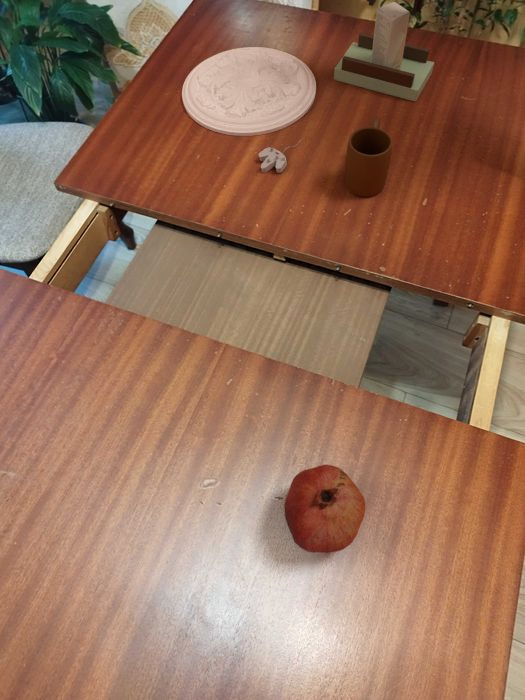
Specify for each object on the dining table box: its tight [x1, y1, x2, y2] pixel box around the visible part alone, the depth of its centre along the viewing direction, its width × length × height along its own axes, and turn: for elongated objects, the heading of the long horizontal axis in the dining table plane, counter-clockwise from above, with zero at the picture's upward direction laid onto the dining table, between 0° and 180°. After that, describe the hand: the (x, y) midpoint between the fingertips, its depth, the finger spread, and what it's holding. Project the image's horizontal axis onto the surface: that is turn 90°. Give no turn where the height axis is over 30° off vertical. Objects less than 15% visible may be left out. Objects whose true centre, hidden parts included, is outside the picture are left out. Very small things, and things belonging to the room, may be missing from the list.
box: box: [371, 1, 411, 69], centre depth 107 cm, size 5×4×11 cm
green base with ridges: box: [333, 32, 435, 103], centre depth 112 cm, size 18×10×5 cm, turn 63°
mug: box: [343, 115, 394, 198], centre depth 96 cm, size 12×8×9 cm, turn 166°
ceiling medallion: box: [181, 46, 317, 137], centre depth 112 cm, size 28×28×3 cm
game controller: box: [258, 137, 307, 174], centre depth 103 cm, size 6×12×3 cm, turn 153°
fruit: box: [283, 464, 366, 554], centre depth 66 cm, size 11×10×10 cm
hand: (393, 8), depth 102 cm, fingers open, 8 cm apart
